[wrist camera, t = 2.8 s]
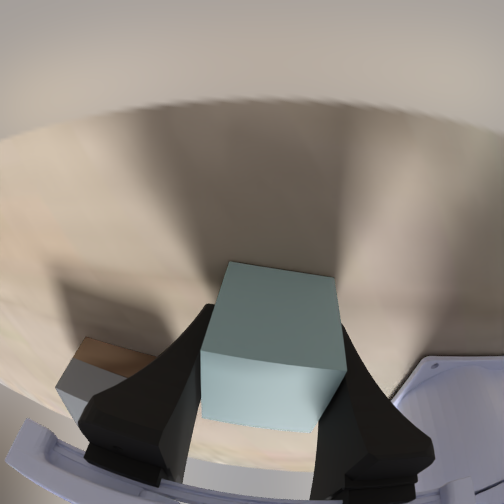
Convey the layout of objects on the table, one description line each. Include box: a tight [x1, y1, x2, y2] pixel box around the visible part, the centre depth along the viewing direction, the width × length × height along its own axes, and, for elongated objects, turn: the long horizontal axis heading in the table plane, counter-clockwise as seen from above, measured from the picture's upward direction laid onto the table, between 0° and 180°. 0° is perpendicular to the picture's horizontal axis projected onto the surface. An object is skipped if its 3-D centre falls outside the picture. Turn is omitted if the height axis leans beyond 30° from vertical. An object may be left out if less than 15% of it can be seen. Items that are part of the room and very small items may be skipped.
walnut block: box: [73, 337, 157, 378], centre depth 19 cm, size 7×7×2 cm
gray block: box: [55, 358, 127, 435], centre depth 17 cm, size 7×7×2 cm
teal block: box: [201, 261, 347, 433], centre depth 12 cm, size 4×4×5 cm
